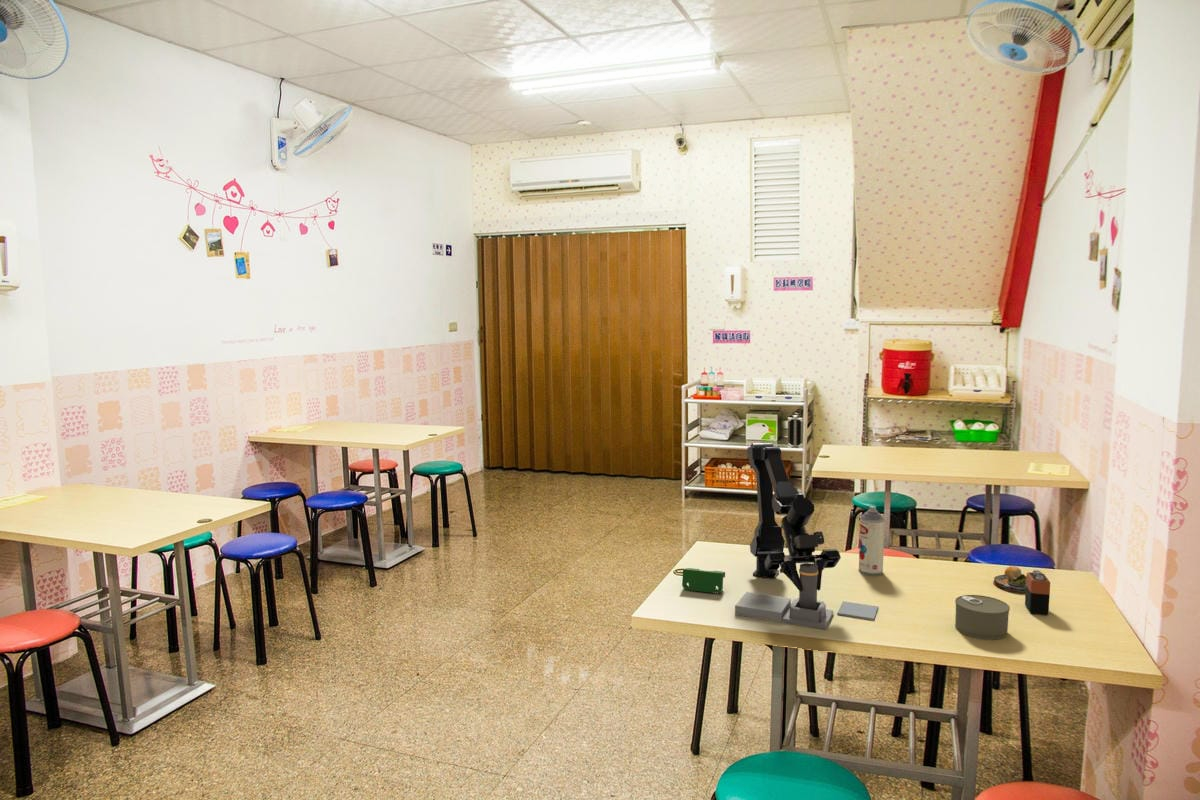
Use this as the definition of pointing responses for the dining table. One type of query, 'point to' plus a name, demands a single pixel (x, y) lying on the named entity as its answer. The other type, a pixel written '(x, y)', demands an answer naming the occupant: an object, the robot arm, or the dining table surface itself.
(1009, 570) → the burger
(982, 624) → the can
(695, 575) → the clamp
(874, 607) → the mat
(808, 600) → the plug
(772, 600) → the socket block
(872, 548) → the aerosol can
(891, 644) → the dining table surface
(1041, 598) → the battery
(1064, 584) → the dining table surface
